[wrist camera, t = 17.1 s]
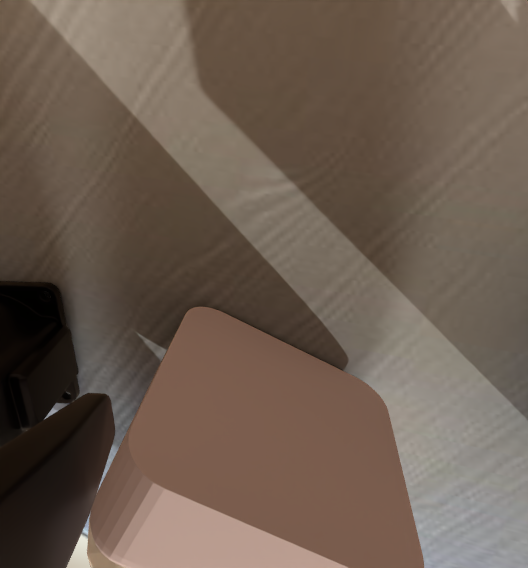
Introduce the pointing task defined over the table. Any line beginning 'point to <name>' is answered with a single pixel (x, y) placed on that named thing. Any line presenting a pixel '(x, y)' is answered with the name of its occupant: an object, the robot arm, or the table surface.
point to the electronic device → (254, 462)
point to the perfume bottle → (98, 555)
